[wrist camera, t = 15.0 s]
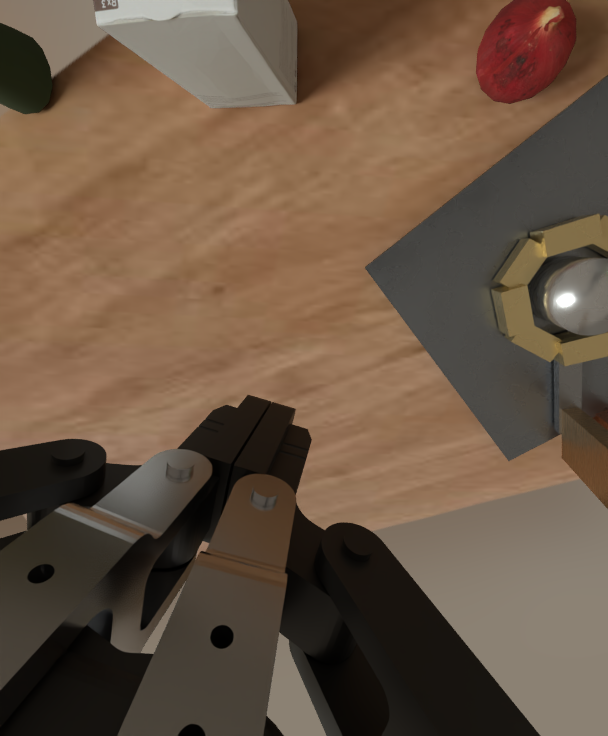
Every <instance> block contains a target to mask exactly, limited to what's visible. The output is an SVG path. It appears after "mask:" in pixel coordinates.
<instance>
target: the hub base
mask: <svg viewBox="0 0 608 736" xmlns="http://www.w3.org/2000/svg"><path fill="white" fill-rule="evenodd" d="M592 214H600V215H606V216H608V75H607V76H606V77H605V78H603V79H602V80H601V81H600V82H598V83H597V84H596V85H594V86H593V87H592V88H591V89H589V90H588V91H587V92H586V93H584V94H583V95H582V96H581V97H579V98H578V99H577V100H576V101H574V102H573V103H572V104H570V105H569V106H568V107H567V108H565V109H564V110H563V111H562V112H560V113H559V114H558V115H557V116H555V117H554V118H553V119H552V120H550V121H549V122H548V123H546V124H545V125H544V126H543V127H541V128H540V129H539V130H538V131H536V132H535V133H534V134H533V135H531V136H530V137H529V138H527V139H526V140H525V141H524V142H522V143H521V144H520V145H519V146H517V147H516V148H515V149H514V150H512V151H511V152H510V153H509V154H507V155H506V156H505V157H503V158H502V159H501V160H500V161H498V162H497V163H496V164H495V165H493V166H492V167H491V168H490V169H488V170H487V171H486V172H485V173H483V174H482V175H481V176H479V177H478V178H477V179H476V180H474V181H473V182H472V183H471V184H469V185H468V186H467V187H466V188H464V189H463V190H462V191H461V192H459V193H458V194H457V195H455V196H454V197H453V198H452V199H450V200H449V201H448V202H447V203H445V204H444V205H443V206H442V207H440V208H439V209H438V210H437V211H435V212H434V213H433V214H431V215H430V216H429V217H428V218H426V219H425V220H424V221H423V222H421V223H420V224H419V225H418V226H416V227H415V228H414V229H412V230H411V231H410V232H409V233H407V234H406V235H405V236H404V237H402V238H401V239H400V240H399V241H397V242H396V243H395V244H394V245H392V246H391V247H390V248H388V249H387V250H386V251H385V252H383V253H382V254H381V255H380V256H378V257H377V258H376V259H375V260H373V261H372V262H371V263H370V264H368V265H367V266H366V267H365V269H366V270H367V271H368V273H369V274H370V275H371V277H372V278H373V279H374V281H375V282H376V283H377V285H378V286H379V287H380V289H381V290H382V291H383V293H384V294H385V295H386V297H387V298H388V299H389V301H390V302H391V304H392V305H393V306H394V308H395V309H396V310H397V312H398V313H399V314H400V316H401V317H402V318H403V320H404V321H405V322H406V324H407V325H408V326H409V328H410V329H411V330H412V332H413V333H414V334H415V336H416V337H417V338H418V340H419V341H420V342H421V344H422V345H423V346H424V348H425V349H426V351H427V352H428V353H429V355H430V356H431V357H432V359H433V360H434V361H435V363H436V364H437V365H438V367H439V368H440V369H441V371H442V372H443V373H444V375H445V376H446V377H447V379H448V380H449V381H450V383H451V384H452V385H453V387H454V388H455V389H456V391H457V392H458V393H459V395H460V396H461V398H462V399H463V400H464V402H465V403H466V404H467V406H468V407H469V408H470V410H471V411H472V412H473V414H474V415H475V416H476V418H477V419H478V420H479V422H480V423H481V424H482V426H483V427H484V428H485V430H486V431H487V432H488V434H489V435H490V436H491V438H492V439H493V440H494V442H495V443H496V445H497V446H498V447H499V449H500V450H501V451H502V453H503V454H504V455H505V457H506V458H507V459H508V461H510V460H512V459H514V458H516V457H518V456H519V455H521V454H523V453H525V452H527V451H529V450H531V449H533V448H535V447H537V446H539V445H541V444H543V443H545V442H547V441H548V440H550V439H552V438H554V437H556V436H558V435H560V434H559V433H558V432H557V431H556V430H555V429H554V359H553V360H552V361H551V362H549V361H547V360H545V359H543V358H541V357H539V356H537V355H535V354H533V353H532V352H530V351H528V350H526V349H524V348H522V347H520V346H518V345H516V344H515V343H513V342H511V341H509V340H508V339H507V338H505V337H504V336H505V334H504V333H503V332H501V331H500V330H499V327H498V322H497V317H496V312H495V307H494V302H493V297H492V292H491V289H494V288H497V287H501V286H503V285H501V284H499V283H497V282H495V281H493V280H494V278H495V277H496V275H497V274H498V272H499V271H500V269H501V268H502V266H503V265H504V263H505V262H506V260H507V259H508V257H509V256H510V254H511V253H512V251H513V250H514V248H515V247H516V245H517V244H518V242H519V241H520V239H528V238H530V239H531V237H530V232H532V231H535V230H538V229H541V228H544V227H548V226H551V225H554V224H557V223H560V222H563V221H566V220H570V219H573V218H576V217H579V216H584V215H592ZM527 286H528V292H529V298H530V303H531V309H532V315H533V320H534V326H536V327H538V328H540V329H542V330H543V331H545V332H547V333H549V334H551V335H556V334H560V333H564V332H568V331H570V332H573V333H575V334H579V335H587V336H591V335H599V334H603V333H606V332H608V258H607V257H605V256H603V255H601V254H599V253H598V252H596V251H594V250H592V249H590V248H588V247H586V246H583V247H580V248H576V249H573V250H570V251H566V252H563V253H560V254H556V255H553V256H550V257H547V258H546V259H545V261H544V262H543V264H542V265H541V266H540V268H539V269H538V271H537V272H536V274H535V275H534V276H533V278H532V279H531V281H530V282H529V283H528V285H527ZM582 410H583V411H584V412H585V413H586V414H588V415H589V416H590V417H592V418H593V419H594V420H595V421H597V422H598V423H599V424H601V425H602V426H603V427H604V428H606V429H607V430H608V356H607V357H603V358H599V359H594V360H590V361H586V362H582Z"/></svg>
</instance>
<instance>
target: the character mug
mask: <svg viewBox="0 0 608 736" xmlns="http://www.w3.org/2000/svg"><path fill="white" fill-rule="evenodd" d="M51 91H52V79H51V71H50V66H49V64H48V61H47V59H46V57H45V54H44V52H43V50H42V48H41V47H40V46H39V45H38V44H37V42H36V41H35V40H34V39H33V38H32V37H30V36H28V35H26V34H23V33H22V32H20V31H18V30H15V29H14V28H11V27H9V26H7V25H4V24H2V23H0V104H2V105H4V106H6V107H8V108H10V109H13V110H16V111H18V112H21V113H23V114H30V113H37V112H40V111H41V110H42V109H43V108H44V107H45V106H46V105H47V104H48V103H49V99H50V95H51Z"/></svg>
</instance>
